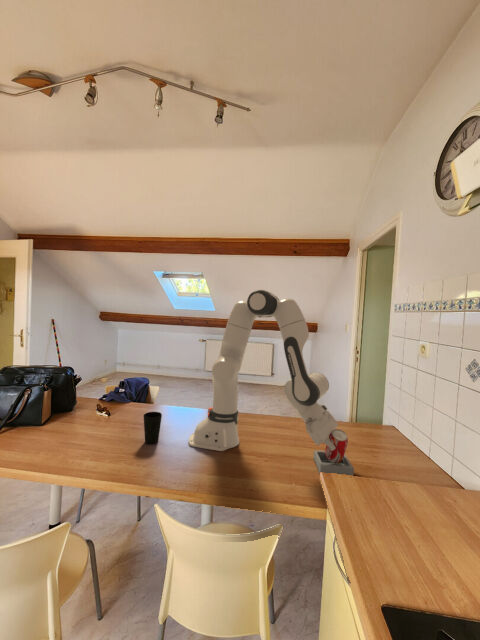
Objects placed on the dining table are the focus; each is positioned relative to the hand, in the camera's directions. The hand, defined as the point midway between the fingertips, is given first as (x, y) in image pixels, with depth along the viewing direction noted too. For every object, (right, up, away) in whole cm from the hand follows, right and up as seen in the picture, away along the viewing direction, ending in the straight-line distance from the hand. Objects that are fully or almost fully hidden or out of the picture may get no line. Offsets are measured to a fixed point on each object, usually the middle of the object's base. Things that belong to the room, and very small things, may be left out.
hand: (337, 445), depth 112 cm
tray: (-2, -9, +1) cm, 9 cm away
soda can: (0, -7, +4) cm, 7 cm away
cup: (-76, -5, +16) cm, 78 cm away
